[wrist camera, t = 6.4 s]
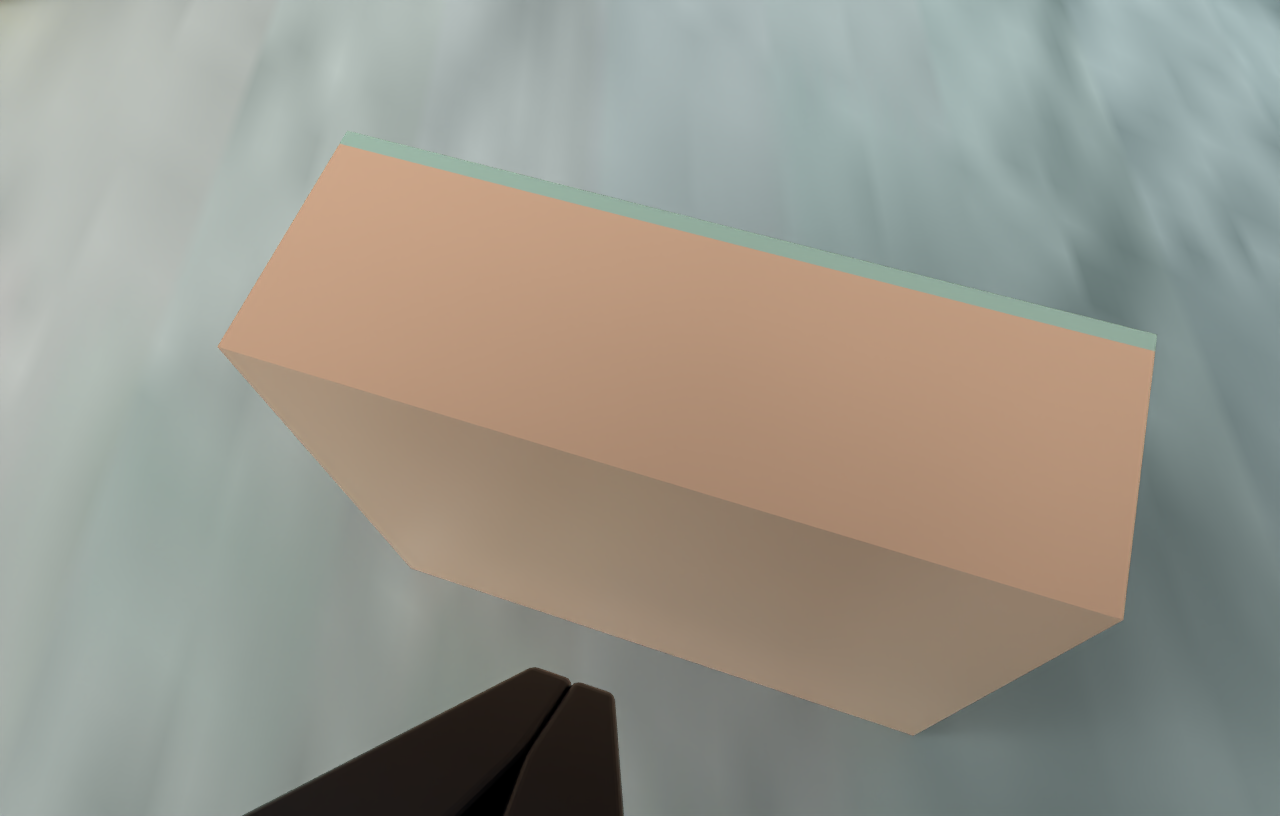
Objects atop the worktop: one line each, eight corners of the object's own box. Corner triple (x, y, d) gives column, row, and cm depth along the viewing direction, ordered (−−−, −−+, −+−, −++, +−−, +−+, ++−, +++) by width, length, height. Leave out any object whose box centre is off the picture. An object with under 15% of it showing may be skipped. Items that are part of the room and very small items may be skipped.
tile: (913, 736, 15) (1123, 620, 8) (411, 568, 17) (216, 347, 10) (947, 565, 17) (1157, 334, 9) (476, 423, 18) (347, 130, 11)
